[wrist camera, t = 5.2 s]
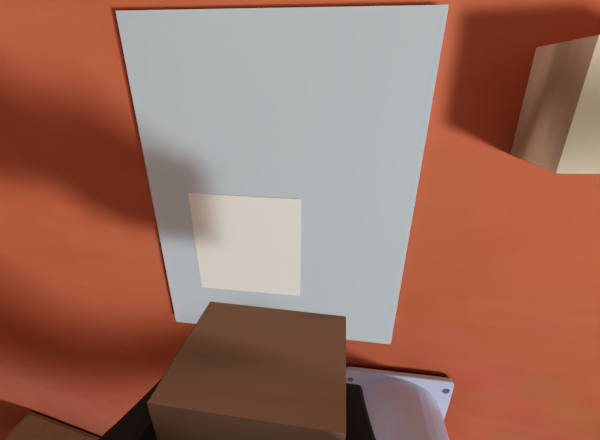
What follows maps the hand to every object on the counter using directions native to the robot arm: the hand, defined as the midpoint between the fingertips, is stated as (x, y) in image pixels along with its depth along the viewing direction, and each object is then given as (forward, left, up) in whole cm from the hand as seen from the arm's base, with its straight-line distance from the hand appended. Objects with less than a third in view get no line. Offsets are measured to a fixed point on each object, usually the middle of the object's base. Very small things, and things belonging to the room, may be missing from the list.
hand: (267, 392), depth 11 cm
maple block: (+9, -13, -11) cm, 19 cm away
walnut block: (0, 0, -2) cm, 2 cm away
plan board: (+3, +2, -11) cm, 11 cm away
